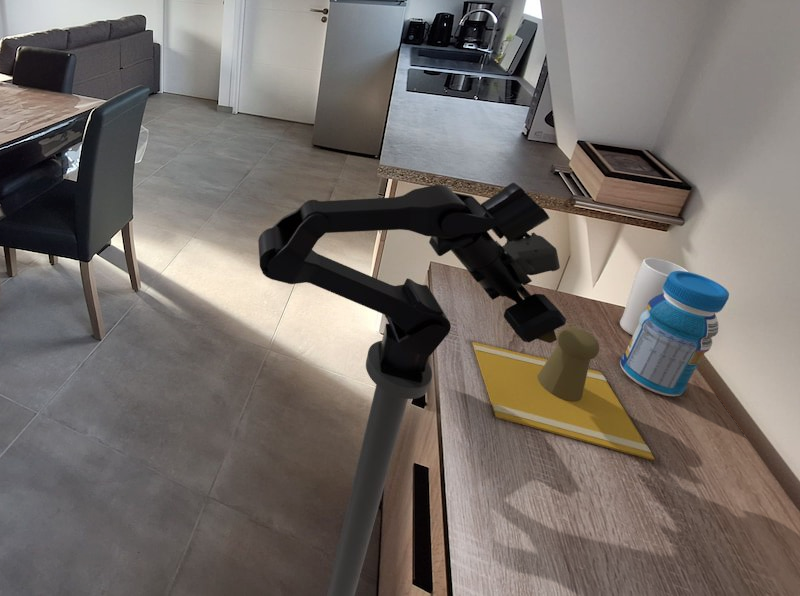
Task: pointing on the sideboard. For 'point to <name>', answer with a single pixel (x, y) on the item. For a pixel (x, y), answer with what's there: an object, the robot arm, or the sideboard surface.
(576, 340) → the cork
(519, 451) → the sideboard surface
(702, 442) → the sideboard surface
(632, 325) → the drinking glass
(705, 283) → the blue plastic jar
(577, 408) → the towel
